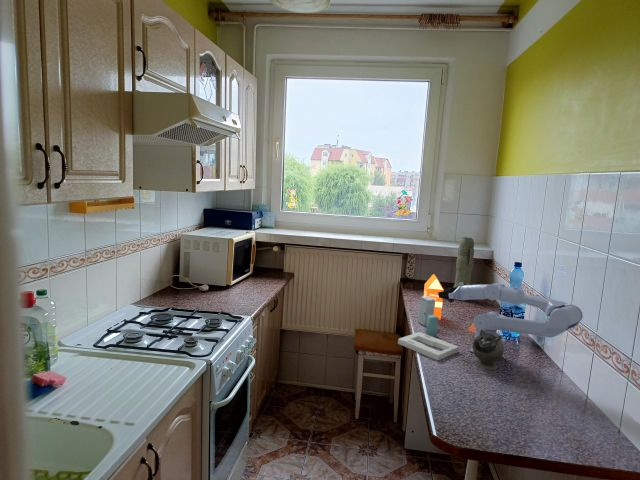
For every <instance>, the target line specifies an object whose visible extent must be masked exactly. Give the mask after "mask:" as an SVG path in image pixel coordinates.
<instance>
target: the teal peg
mask: <svg viewBox="0 0 640 480" xmlns="http://www.w3.org/2000/svg"><path fill="white" fill-rule="evenodd" d="M439 321H440V320H439V317H437V316H434V315H429V316H428V321H427V326H426V331H425V334H426V335H429V336H432V337H434V338H437V337H438V330H439Z"/></svg>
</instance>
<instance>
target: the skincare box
mask: <svg viewBox="0 0 640 480" xmlns="http://www.w3.org/2000/svg"><path fill="white" fill-rule="evenodd" d="M435 301H436V300H434V299H433V298H431V297H429V296H424V295H422V296H420V302H419V311H418V317H417V318H418V319H417V322H418V323H419V324H421V325H422V326H424V327H427V321H428V316H429V315H434V308H435Z"/></svg>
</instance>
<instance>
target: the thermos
mask: <svg viewBox="0 0 640 480" xmlns="http://www.w3.org/2000/svg"><path fill="white" fill-rule="evenodd" d="M474 255H475V241H474V239H473V238H472V237H466V236H465V237H464V236H463V237H461V239H460V241H459V246H458V252H457V258H456V263H455V268H456V271H455V280H454V285H453V287H452V288H454V287H458V286H459V283H461V282H463V284H464V283H465V284H466V285H471V276H472V270H473V268H474ZM453 299H454V300H456V301H460V300H459V299H455V298H453ZM461 301H462V302H467V300H461ZM461 301H460V302H461Z"/></svg>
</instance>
